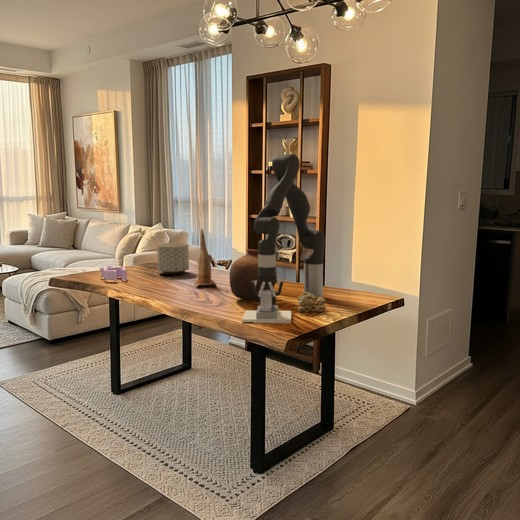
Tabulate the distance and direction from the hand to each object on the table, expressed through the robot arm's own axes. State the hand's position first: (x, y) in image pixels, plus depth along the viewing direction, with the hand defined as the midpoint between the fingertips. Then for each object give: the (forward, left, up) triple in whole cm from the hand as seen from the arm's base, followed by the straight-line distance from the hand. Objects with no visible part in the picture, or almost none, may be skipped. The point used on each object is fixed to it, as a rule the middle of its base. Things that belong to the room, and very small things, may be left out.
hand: (267, 304), depth 214 cm
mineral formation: (-14, +19, -6) cm, 24 cm away
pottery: (-32, -8, -6) cm, 34 cm away
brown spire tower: (-64, -37, -6) cm, 74 cm away
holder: (0, 0, -6) cm, 6 cm away
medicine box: (0, 0, -2) cm, 2 cm away
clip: (-80, -95, -6) cm, 124 cm away
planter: (-99, -63, -6) cm, 117 cm away
